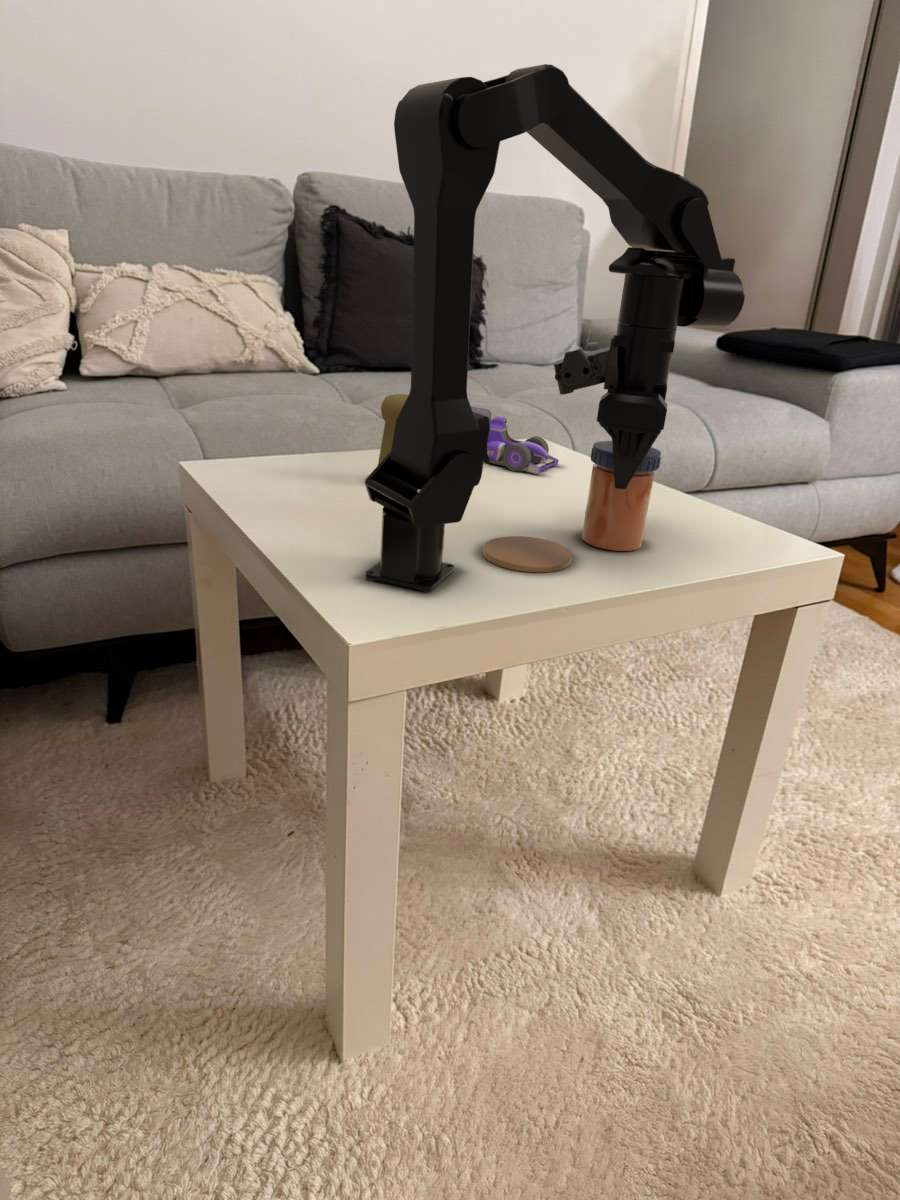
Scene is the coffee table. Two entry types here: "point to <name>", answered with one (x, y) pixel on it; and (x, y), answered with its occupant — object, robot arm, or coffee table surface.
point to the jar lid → (604, 457)
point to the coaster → (527, 554)
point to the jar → (616, 510)
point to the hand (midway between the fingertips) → (621, 480)
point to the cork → (390, 421)
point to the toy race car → (515, 448)
